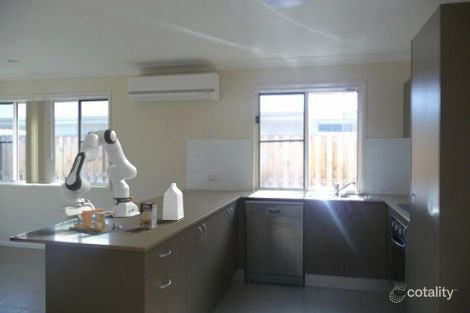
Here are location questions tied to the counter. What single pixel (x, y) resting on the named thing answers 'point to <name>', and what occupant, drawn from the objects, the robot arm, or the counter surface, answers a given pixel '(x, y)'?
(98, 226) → the fixed leg
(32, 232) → the counter surface
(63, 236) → the counter surface
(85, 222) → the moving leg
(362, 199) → the counter surface
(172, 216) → the milk
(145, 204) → the coffee box
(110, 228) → the hole plate
